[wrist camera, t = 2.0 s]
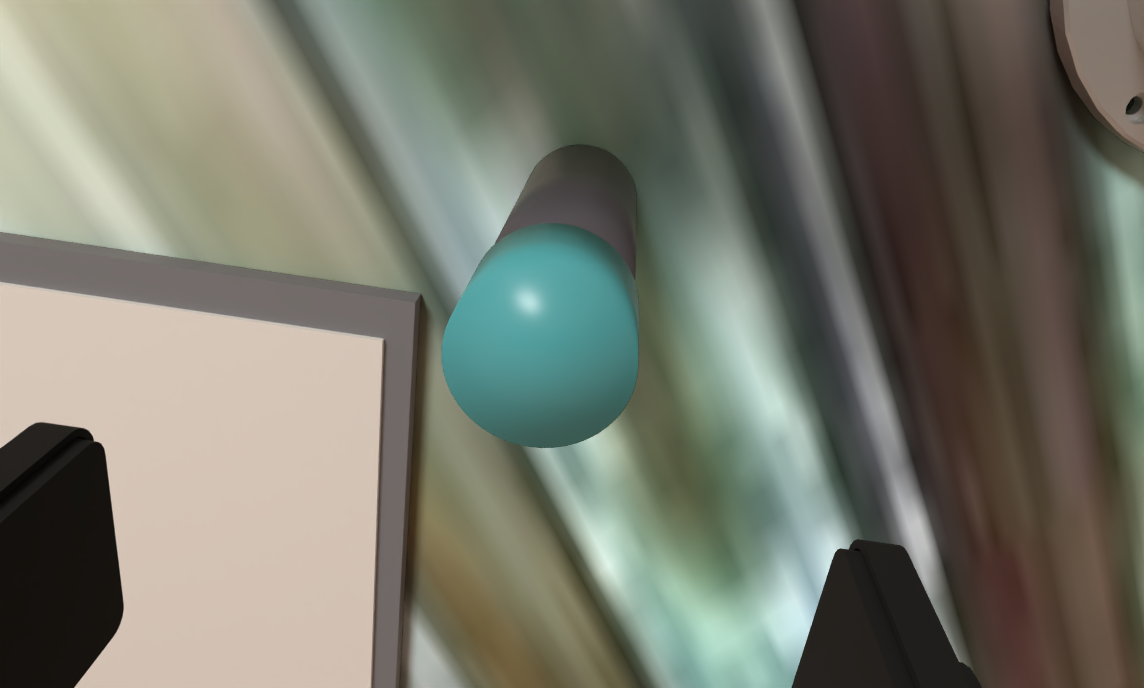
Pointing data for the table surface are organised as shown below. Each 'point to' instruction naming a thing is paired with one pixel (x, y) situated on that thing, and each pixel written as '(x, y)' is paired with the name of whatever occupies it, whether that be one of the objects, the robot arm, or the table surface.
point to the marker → (552, 308)
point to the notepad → (228, 456)
